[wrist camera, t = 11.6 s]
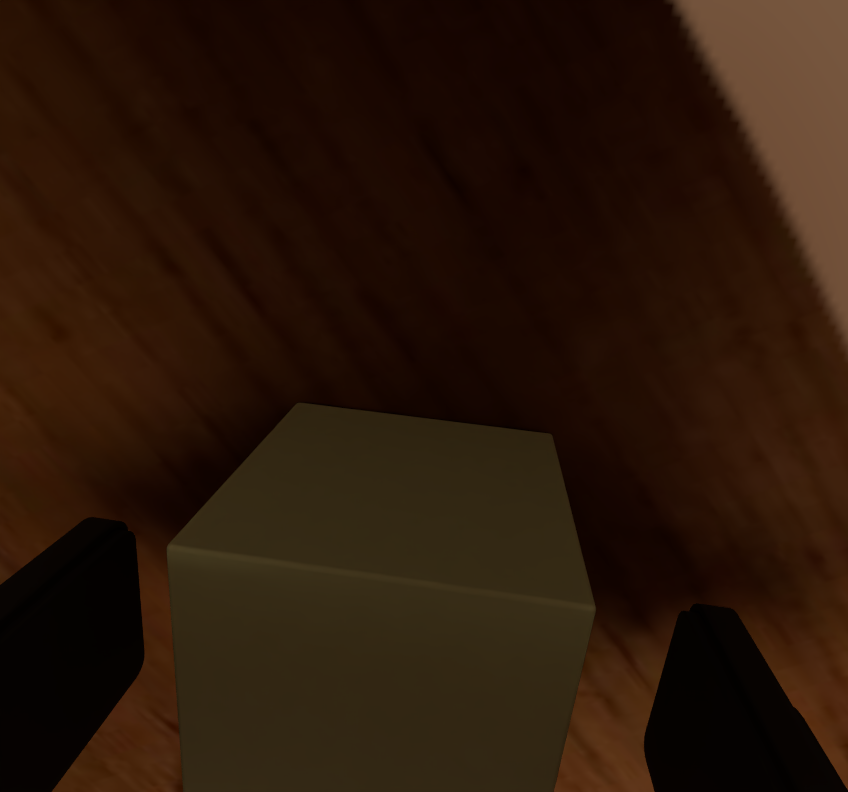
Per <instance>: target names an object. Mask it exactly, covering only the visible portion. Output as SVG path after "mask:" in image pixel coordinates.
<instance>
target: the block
mask: <svg viewBox="0 0 848 792" xmlns="http://www.w3.org/2000/svg"><path fill="white" fill-rule="evenodd" d="M167 563H168V577H169V592H170V606H171V620H172V635H173V649H174V663H175V678H176V692H177V706H178V721H179V735H180V749H181V764H182V778H183V792H554V788H555V784H556V780H557V775H558V771H559V767H560V762H561V758H562V754H563V750H564V745H565V741H566V737H567V732H568V728H569V724H570V719H571V715H572V711H573V706H574V702H575V698H576V694H577V689H578V685H579V681H580V676H581V672H582V668H583V663H584V659H585V655H586V651H587V646H588V642H589V638H590V633H591V629H592V625H593V620H594V616H595V612H596V607H595V603H594V599H593V595H592V591H591V587H590V583H589V579H588V575H587V571H586V567H585V563H584V559H583V555H582V551H581V547H580V543H579V539H578V535H577V532H576V528H575V524H574V520H573V516H572V512H571V508H570V504H569V500H568V496H567V492H566V488H565V484H564V480H563V476H562V472H561V468H560V464H559V460H558V456H557V452H556V448H555V444H554V440H553V436H552V435H551V434H549V433H541V432H533V431H525V430H516V429H508V428H500V427H492V426H484V425H476V424H468V423H460V422H452V421H444V420H436V419H428V418H420V417H412V416H404V415H396V414H388V413H379V412H371V411H363V410H355V409H347V408H339V407H331V406H323V405H315V404H307V403H297V404H296V405H295V406H294V407H293V408H292V409H291V410H290V411H289V412H288V413H287V415H286V416H285V417H284V418H283V419H282V420H281V421H280V422H279V423H278V424H277V426H276V427H275V428H274V429H273V430H272V431H271V432H270V433H269V434H268V435H267V437H266V438H265V439H264V440H263V441H262V442H261V443H260V444H259V445H258V446H257V448H256V449H255V450H254V451H253V452H252V453H251V454H250V455H249V456H248V457H247V459H246V460H245V461H244V462H243V463H242V464H241V465H240V466H239V467H238V468H237V469H236V471H235V472H234V473H233V474H232V475H231V476H230V477H229V478H228V479H227V480H226V482H225V483H224V484H223V485H222V486H221V487H220V488H219V489H218V490H217V491H216V493H215V494H214V495H213V496H212V497H211V498H210V499H209V500H208V501H207V502H206V504H205V505H204V506H203V507H202V508H201V509H200V510H199V511H198V512H197V513H196V515H195V516H194V517H193V518H192V519H191V520H190V521H189V522H188V523H187V524H186V526H185V527H184V528H183V529H182V530H181V531H180V532H179V533H178V534H177V535H176V537H175V538H174V539H173V540H172V541H171V542H170V543H169V544H168V547H167Z"/></svg>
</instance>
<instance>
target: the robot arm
mask: <svg viewBox="0 0 848 792" xmlns="http://www.w3.org/2000/svg"><path fill="white" fill-rule="evenodd" d="M143 661H144V640H143V627H142V614H141V601H140V588H139V575H138V562H137V549H136V538H135V535H134V533H133V532H131V531H128V527H127V526H126V524H125V523H124V522H122V521H116V520H109V519H102V518H95V517H90V518H87V519H85V520H83V521H82V522H80V523H79V524H78V525H77V526H75V527H74V528H73V529H71V530H70V531H69V532H68V533H66V534H65V535H64V536H63V537H61V538H60V539H59V540H57V541H56V542H55V543H54V544H52V545H51V546H50V547H48V548H47V549H46V550H45V551H43V552H42V553H41V554H39V555H38V556H37V557H36V558H34V559H33V560H32V561H31V562H29V563H28V564H27V565H25V566H24V567H23V568H22V569H20V570H19V571H18V572H16V573H15V574H14V575H13V576H11V577H10V578H9V579H7V580H6V581H5V582H4V583H2V584H1V585H0V792H52V790H53V789H54V788H55V786H56V785H57V784H58V782H59V781H60V780H61V778H62V777H63V776H64V774H65V773H66V772H67V770H68V769H69V768H70V766H71V765H72V764H73V762H74V761H75V760H76V758H77V757H78V756H79V754H80V753H81V751H82V750H83V749H84V747H85V746H86V745H87V743H88V742H89V741H90V739H91V738H92V737H93V735H94V734H95V733H96V731H97V730H98V729H99V727H100V726H101V725H102V723H103V722H104V721H105V719H106V718H107V717H108V715H109V714H110V713H111V711H112V710H113V708H114V707H115V706H116V704H117V703H118V702H119V700H120V699H121V698H122V696H123V695H124V694H125V692H126V691H127V690H128V688H129V687H130V686H131V684H132V683H133V682H134V680H135V679H136V677H137V676H138V674H139V672H140V670H141V668H142V665H143ZM644 751H645V758H646V762H647V766H648V769H649V773H650V776H651V780H652V784H653V787H654V791H655V792H848V790H847V788H846V787H845V785H844V784H843V782H842V780H841V779H840V777H839V775H838V774H837V772H836V770H835V769H834V767H833V765H832V764H831V762H830V760H829V759H828V757H827V756H826V754H825V752H824V751H823V749H822V747H821V746H820V744H819V742H818V741H817V739H816V737H815V736H814V734H813V733H812V731H811V729H810V728H809V726H808V724H807V723H806V721H805V719H804V718H803V717H802V715H801V714H800V713H799V711H798V710H797V709H796V708H794V707H793V706H792V704H791V702H790V701H789V699H788V697H787V696H786V694H785V692H784V691H783V689H782V687H781V686H780V684H779V682H778V681H777V679H776V677H775V676H774V674H773V672H772V671H771V669H770V667H769V666H768V664H767V662H766V661H765V659H764V657H763V656H762V654H761V652H760V651H759V649H758V648H757V646H756V644H755V643H754V641H753V639H752V638H751V636H750V634H749V633H748V631H747V629H746V628H745V626H744V624H743V623H742V621H741V619H740V618H739V616H738V614H737V613H736V612H735V611H734V610H733V609H731V608H726V607H719V606H712V605H705V604H698V603H696V604H693V605H692V607H691V608H690V610H689V611H681V612H680V613H679V615H678V618H677V621H676V625H675V629H674V632H673V636H672V639H671V643H670V646H669V650H668V654H667V657H666V661H665V664H664V668H663V671H662V675H661V678H660V682H659V686H658V689H657V693H656V696H655V700H654V703H653V707H652V711H651V714H650V718H649V721H648V725H647V728H646V732H645V737H644Z"/></svg>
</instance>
